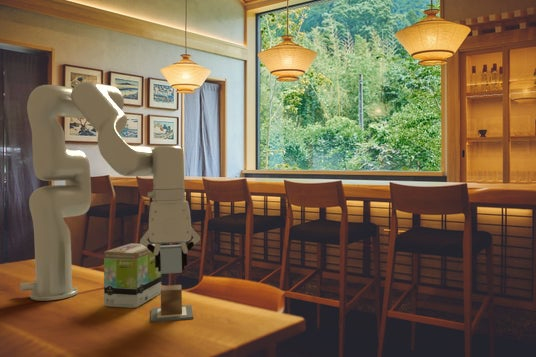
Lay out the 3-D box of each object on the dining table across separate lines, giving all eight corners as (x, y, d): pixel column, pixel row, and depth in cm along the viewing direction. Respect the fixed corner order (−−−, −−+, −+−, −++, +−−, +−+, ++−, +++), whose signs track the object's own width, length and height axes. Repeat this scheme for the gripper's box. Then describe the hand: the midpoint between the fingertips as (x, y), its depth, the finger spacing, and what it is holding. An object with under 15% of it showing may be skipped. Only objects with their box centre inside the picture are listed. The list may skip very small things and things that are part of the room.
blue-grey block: (160, 273, 115) (160, 249, 115) (161, 269, 120) (160, 245, 120) (181, 272, 116) (181, 247, 116) (181, 268, 121) (180, 244, 121)
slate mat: (150, 322, 113) (150, 319, 113) (151, 309, 123) (151, 307, 123) (193, 318, 115) (193, 316, 115) (191, 306, 125) (191, 304, 125)
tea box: (138, 308, 124) (137, 251, 124) (103, 307, 126) (101, 251, 126) (162, 293, 139) (161, 242, 138) (130, 292, 141) (129, 242, 140)
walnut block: (161, 315, 116) (160, 291, 116) (161, 309, 121) (160, 286, 120) (182, 314, 117) (181, 289, 117) (181, 308, 122) (181, 284, 121)
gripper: (132, 198, 112) (134, 275, 113) (205, 195, 116) (207, 270, 116) (134, 196, 120) (136, 268, 120) (202, 194, 123) (204, 264, 124)
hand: (171, 268), depth 118 cm, fingers closed on blue-grey block, 5 cm apart
